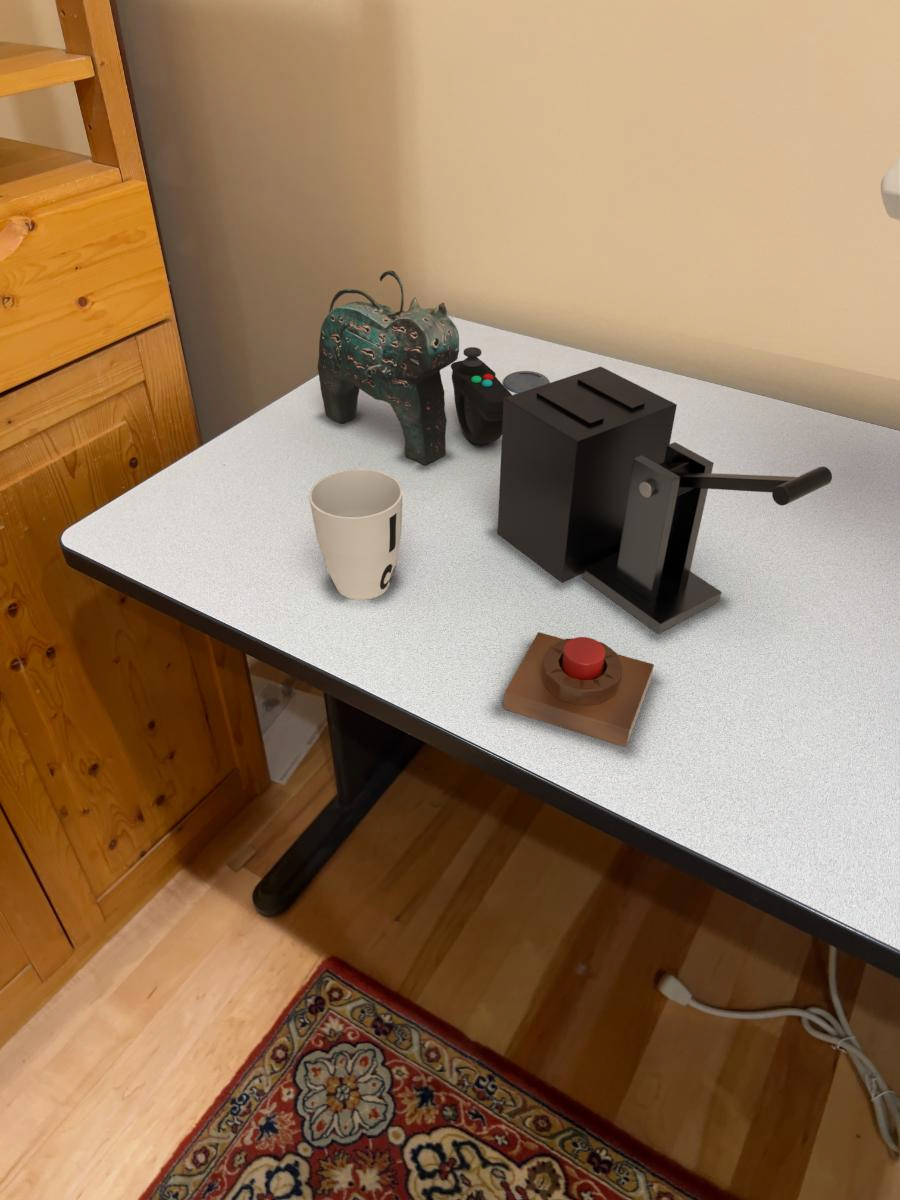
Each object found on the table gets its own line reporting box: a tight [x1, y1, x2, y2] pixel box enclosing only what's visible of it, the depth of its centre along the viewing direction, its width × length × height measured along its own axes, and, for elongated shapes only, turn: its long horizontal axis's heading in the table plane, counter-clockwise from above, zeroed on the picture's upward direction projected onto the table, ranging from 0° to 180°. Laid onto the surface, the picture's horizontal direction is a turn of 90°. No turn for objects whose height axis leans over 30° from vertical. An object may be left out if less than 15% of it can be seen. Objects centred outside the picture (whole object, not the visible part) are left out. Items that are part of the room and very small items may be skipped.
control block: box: [503, 631, 655, 748], centre depth 71 cm, size 10×8×4 cm
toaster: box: [496, 366, 678, 584], centre depth 84 cm, size 10×12×15 cm
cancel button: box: [562, 636, 605, 680], centre depth 69 cm, size 3×3×2 cm
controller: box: [450, 346, 513, 445], centre depth 101 cm, size 4×12×10 cm, turn 21°
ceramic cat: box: [317, 270, 460, 466], centre depth 99 cm, size 20×6×20 cm, turn 46°
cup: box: [308, 468, 403, 601], centre depth 80 cm, size 8×8×10 cm
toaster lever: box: [658, 462, 833, 507], centre depth 70 cm, size 15×5×2 cm, turn 36°
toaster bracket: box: [581, 441, 722, 635], centre depth 78 cm, size 10×8×14 cm
